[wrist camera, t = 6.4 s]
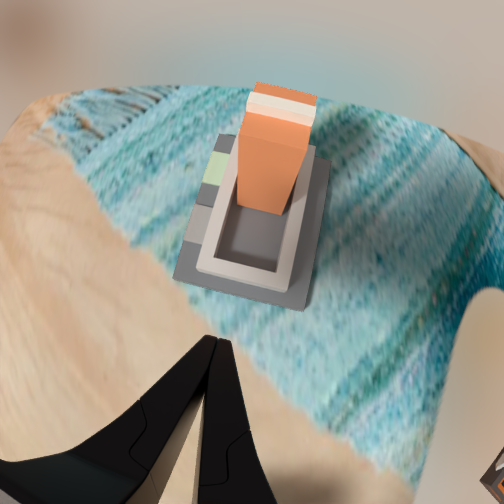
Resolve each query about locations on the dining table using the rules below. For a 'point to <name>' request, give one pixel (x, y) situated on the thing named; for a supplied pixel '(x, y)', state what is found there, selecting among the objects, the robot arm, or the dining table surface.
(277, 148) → the orange juice carton
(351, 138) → the dining table surface
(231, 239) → the grey framed base plate
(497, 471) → the electronic device
